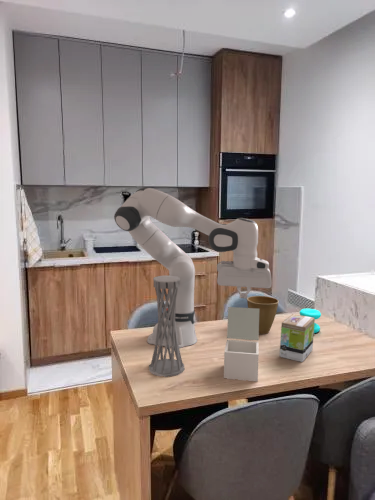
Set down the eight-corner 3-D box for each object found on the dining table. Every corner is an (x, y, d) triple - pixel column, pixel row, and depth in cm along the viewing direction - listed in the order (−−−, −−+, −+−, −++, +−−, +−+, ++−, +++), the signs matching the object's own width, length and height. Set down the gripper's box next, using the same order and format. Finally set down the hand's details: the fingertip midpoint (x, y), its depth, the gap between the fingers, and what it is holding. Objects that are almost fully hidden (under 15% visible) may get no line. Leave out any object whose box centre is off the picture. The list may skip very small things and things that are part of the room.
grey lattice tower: (149, 361, 151) (148, 274, 146) (183, 360, 152) (183, 274, 147) (148, 377, 138) (147, 282, 133) (185, 376, 139) (186, 282, 134)
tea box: (303, 362, 151) (305, 326, 149) (278, 357, 156) (280, 322, 154) (313, 350, 163) (315, 316, 161) (290, 345, 169) (291, 312, 167)
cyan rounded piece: (323, 309, 188) (318, 315, 179) (322, 329, 189) (317, 335, 181) (302, 306, 193) (297, 311, 184) (301, 325, 194) (296, 331, 186)
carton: (223, 378, 137) (224, 351, 136) (226, 364, 149) (226, 339, 148) (257, 381, 135) (258, 354, 134) (257, 366, 147) (258, 341, 146)
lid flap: (228, 306, 150) (228, 307, 151) (226, 338, 147) (227, 338, 148) (259, 308, 148) (259, 308, 148) (258, 340, 145) (258, 340, 146)
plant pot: (259, 339, 176) (260, 305, 173) (240, 329, 188) (240, 297, 186) (284, 333, 183) (285, 301, 181) (263, 324, 196) (264, 294, 193)
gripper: (216, 261, 141) (215, 298, 143) (272, 264, 138) (270, 302, 139) (218, 259, 147) (216, 294, 149) (272, 262, 144) (270, 297, 146)
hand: (243, 298), depth 144 cm, fingers closed
